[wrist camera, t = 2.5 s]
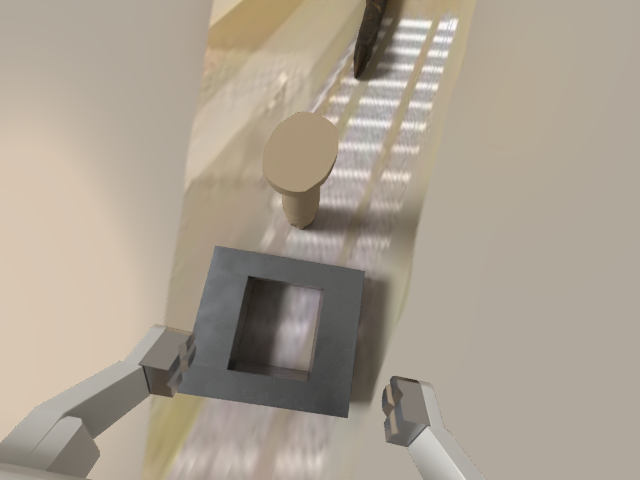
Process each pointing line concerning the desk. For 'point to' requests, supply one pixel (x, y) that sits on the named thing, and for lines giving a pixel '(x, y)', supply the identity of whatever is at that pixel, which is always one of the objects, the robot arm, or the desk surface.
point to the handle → (300, 163)
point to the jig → (262, 380)
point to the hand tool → (368, 33)
